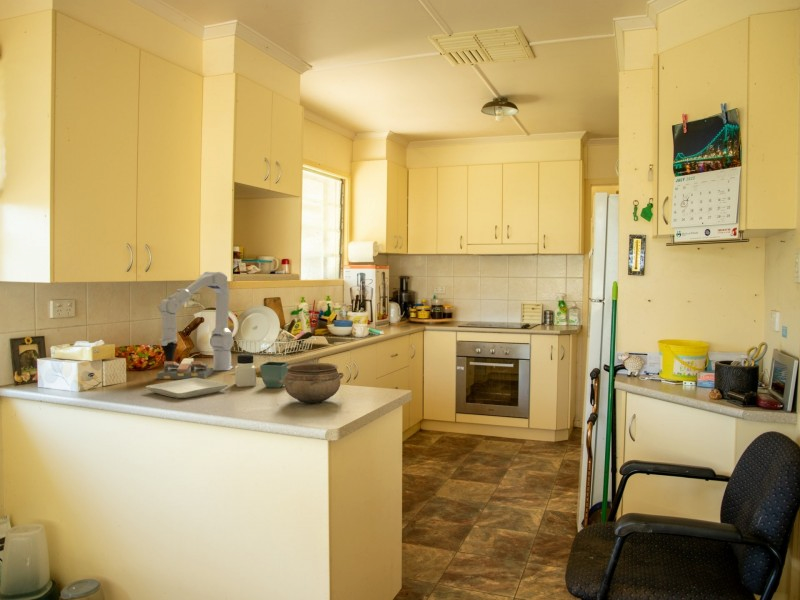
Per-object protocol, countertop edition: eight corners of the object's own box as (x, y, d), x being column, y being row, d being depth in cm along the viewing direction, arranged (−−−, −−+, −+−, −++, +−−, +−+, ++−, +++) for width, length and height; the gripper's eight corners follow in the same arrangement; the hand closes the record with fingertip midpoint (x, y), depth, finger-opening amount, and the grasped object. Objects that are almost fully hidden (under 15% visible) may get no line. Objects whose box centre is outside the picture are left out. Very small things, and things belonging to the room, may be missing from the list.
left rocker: (171, 368, 267) (171, 365, 268) (180, 368, 268) (181, 365, 268) (164, 364, 258) (164, 361, 258) (173, 364, 258) (174, 361, 258)
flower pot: (282, 389, 235) (281, 365, 235) (259, 388, 236) (259, 364, 236) (289, 385, 244) (289, 362, 243) (268, 384, 245) (268, 361, 245)
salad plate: (178, 402, 213) (178, 392, 213) (144, 394, 226) (144, 385, 226) (229, 392, 230) (229, 383, 230) (195, 386, 243) (195, 377, 242)
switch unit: (168, 373, 270) (168, 362, 269) (212, 373, 271) (212, 362, 270) (157, 378, 255) (157, 367, 255) (204, 378, 256) (204, 367, 256)
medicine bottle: (256, 385, 241) (256, 355, 241) (237, 387, 239) (237, 355, 238) (253, 382, 248) (253, 352, 248) (235, 383, 245) (234, 353, 245)
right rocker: (197, 368, 268) (197, 365, 268) (206, 367, 268) (207, 365, 268) (191, 364, 258) (191, 361, 259) (200, 364, 259) (201, 361, 259)
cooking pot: (327, 393, 227) (327, 360, 227) (358, 402, 213) (358, 366, 212) (265, 402, 211) (265, 366, 210) (295, 412, 197) (295, 374, 196)
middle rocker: (184, 360, 267) (183, 358, 267) (193, 360, 268) (193, 358, 267) (177, 371, 258) (177, 369, 258) (187, 371, 258) (187, 369, 258)
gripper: (165, 326, 265) (165, 358, 266) (153, 330, 251) (153, 363, 251) (181, 326, 265) (182, 358, 266) (171, 330, 251) (171, 363, 252)
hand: (169, 361), depth 259 cm, fingers closed
